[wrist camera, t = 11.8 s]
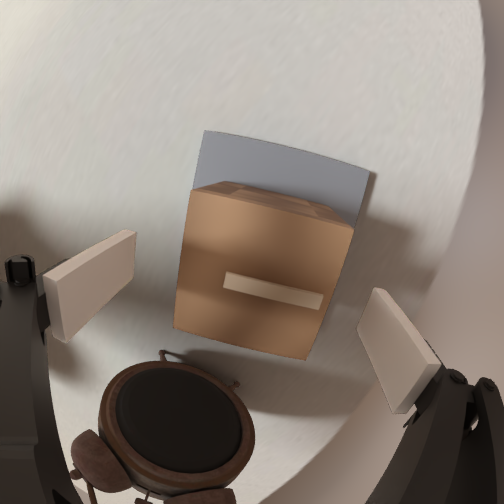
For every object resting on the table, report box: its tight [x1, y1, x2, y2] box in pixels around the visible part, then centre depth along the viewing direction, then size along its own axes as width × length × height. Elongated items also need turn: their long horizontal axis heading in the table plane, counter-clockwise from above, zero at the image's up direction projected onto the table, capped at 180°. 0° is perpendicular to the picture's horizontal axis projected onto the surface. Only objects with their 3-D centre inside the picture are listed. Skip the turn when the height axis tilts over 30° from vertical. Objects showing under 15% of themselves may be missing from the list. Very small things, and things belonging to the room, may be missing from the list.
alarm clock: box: [69, 350, 255, 504], centre depth 18 cm, size 15×7×20 cm, turn 67°
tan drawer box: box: [173, 181, 354, 361], centre depth 17 cm, size 8×8×8 cm
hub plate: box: [192, 130, 370, 229], centre depth 20 cm, size 13×15×6 cm
